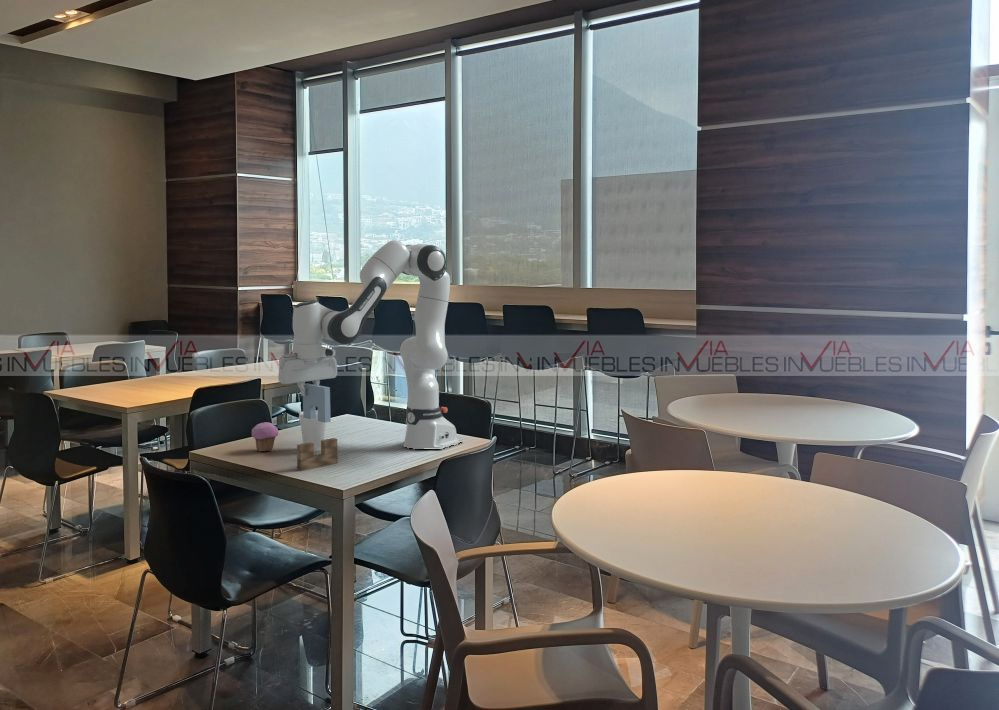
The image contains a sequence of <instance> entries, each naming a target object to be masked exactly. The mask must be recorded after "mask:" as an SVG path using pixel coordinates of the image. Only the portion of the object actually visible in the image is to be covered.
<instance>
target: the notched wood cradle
mask: <svg viewBox="0 0 999 710" xmlns="http://www.w3.org/2000/svg"><path fill="white" fill-rule="evenodd" d="M338 455H339V453H338V438H336V437H335V438H334V437H331V438H327V439H324V440H321V450H320V453H319V454H315V451H314V443H311V442H310V443H304V444H303V443H301V444H296V465H297V466H296V467H297V468H296V470H298V471H300V472H302V471H306V470H311V469H312V470H313V469H315V468H316V469H317V468H322V467H325V466H331V465H335V464H338V461H339V460H338Z"/></svg>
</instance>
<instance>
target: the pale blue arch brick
mask: <svg viewBox="0 0 999 710" xmlns="http://www.w3.org/2000/svg"><path fill="white" fill-rule="evenodd" d="M303 386H304V388H305V390H308V395H306V396H302V412H303V418H307V419H315V418H316V408H317V410H318V421H320V422H324V423H326V424H327V423H331V387H329V386H324V385H320V384H319V385H314V383H305V385H303Z"/></svg>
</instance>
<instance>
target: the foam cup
mask: <svg viewBox="0 0 999 710" xmlns="http://www.w3.org/2000/svg"><path fill="white" fill-rule="evenodd" d="M298 420H299V423H300V431H301V436H302V438H301V439H302V442H303V443H302V444H304V443H310V442H311V443H314V452H318V451H319V452H321V440H325V435H326V433H325V432H326V427H327V426H326V425H327V423H324V422H320V421H318V409H317V410H316V418H315V419H307V418H303V411H299V413H298Z"/></svg>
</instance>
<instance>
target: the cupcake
mask: <svg viewBox="0 0 999 710" xmlns="http://www.w3.org/2000/svg"><path fill="white" fill-rule="evenodd" d="M278 435H279V429H278V427H277V426H275V425H274V424H273V423H271V422H266V421H264V422H260V423H258V424H256V425H255V426H254V427H253V428H251V437H252V438H254V440H255V446H256V450H257V451H258V450H260V451H259V452H261V451H264V452H267V451H270V452H271V451H273V448H274V445H275V440H276V437H277V436H278Z"/></svg>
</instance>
